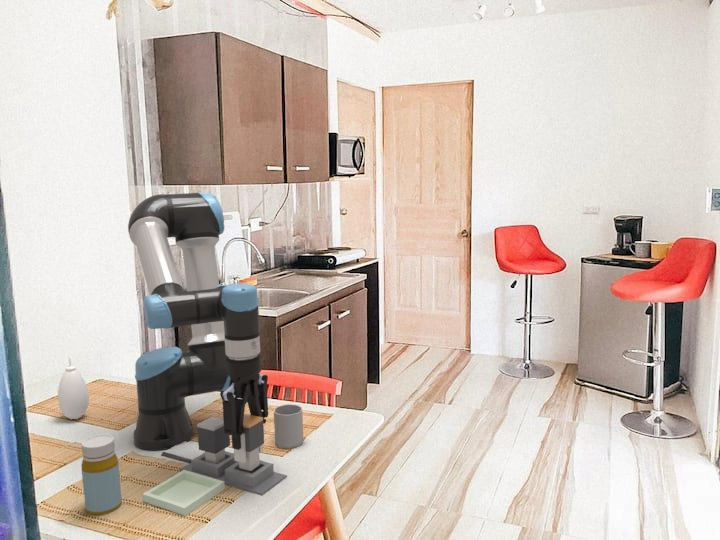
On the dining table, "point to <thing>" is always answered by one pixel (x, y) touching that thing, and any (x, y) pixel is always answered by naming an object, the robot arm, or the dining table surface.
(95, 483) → the bottle
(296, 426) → the cup
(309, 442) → the dining table surface
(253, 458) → the plug
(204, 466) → the strip
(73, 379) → the white air blower
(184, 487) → the parts tray
